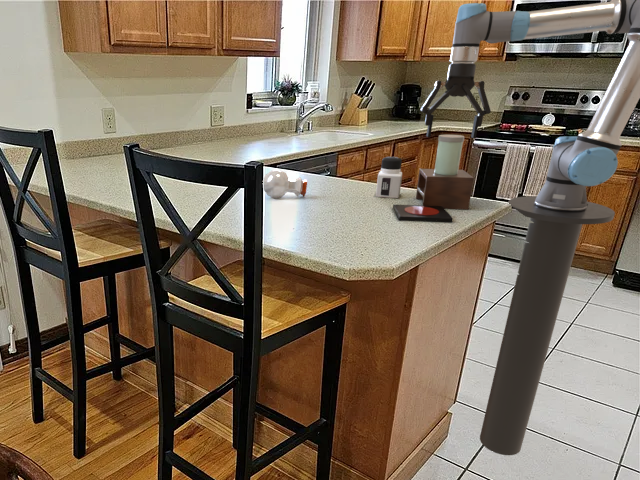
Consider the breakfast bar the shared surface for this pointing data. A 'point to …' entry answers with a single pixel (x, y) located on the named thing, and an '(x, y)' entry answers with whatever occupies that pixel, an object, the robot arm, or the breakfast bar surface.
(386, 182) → the container
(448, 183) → the brown box
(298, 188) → the potion bottle
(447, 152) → the jar
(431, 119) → the robot arm
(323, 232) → the breakfast bar surface
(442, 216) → the hob plate
